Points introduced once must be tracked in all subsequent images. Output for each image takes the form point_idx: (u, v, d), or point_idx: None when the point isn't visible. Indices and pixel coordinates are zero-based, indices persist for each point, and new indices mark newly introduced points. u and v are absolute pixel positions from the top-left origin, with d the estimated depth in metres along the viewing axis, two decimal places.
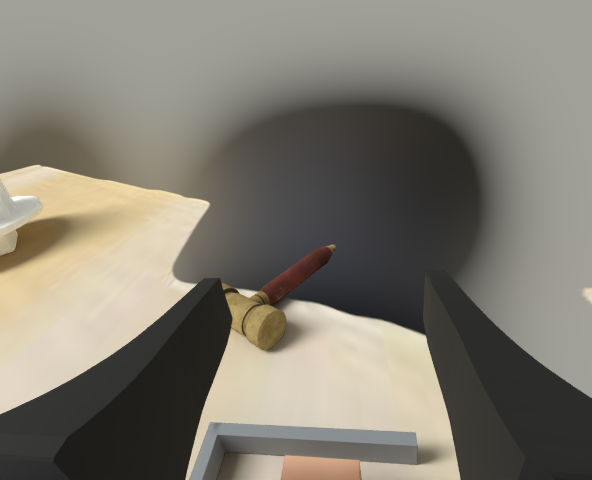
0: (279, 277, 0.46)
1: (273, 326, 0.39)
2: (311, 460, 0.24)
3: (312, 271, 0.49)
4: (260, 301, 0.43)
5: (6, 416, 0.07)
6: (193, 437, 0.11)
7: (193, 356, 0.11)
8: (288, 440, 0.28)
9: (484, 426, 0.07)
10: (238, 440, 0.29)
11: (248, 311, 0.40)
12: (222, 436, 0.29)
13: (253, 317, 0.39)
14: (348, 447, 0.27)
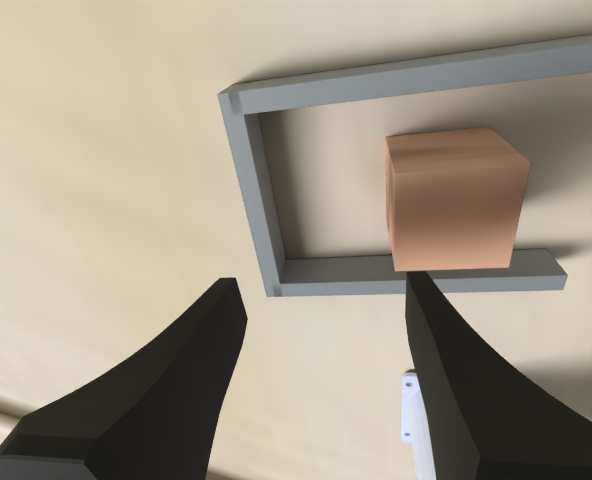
0: None
1: None
2: (443, 175, 0.14)
3: None
4: None
5: (32, 417, 0.07)
6: (212, 438, 0.11)
7: (212, 356, 0.11)
8: None
9: (451, 425, 0.07)
10: None
11: None
12: None
13: None
14: None
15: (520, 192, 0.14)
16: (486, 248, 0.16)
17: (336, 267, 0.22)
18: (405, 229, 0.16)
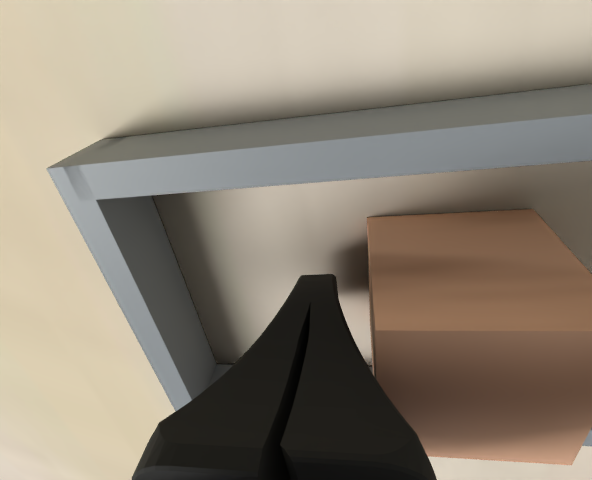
0: None
1: None
2: (466, 338, 0.08)
3: None
4: None
5: (169, 423, 0.07)
6: None
7: None
8: None
9: None
10: None
11: None
12: None
13: None
14: None
15: None
16: (535, 440, 0.09)
17: None
18: (395, 405, 0.09)
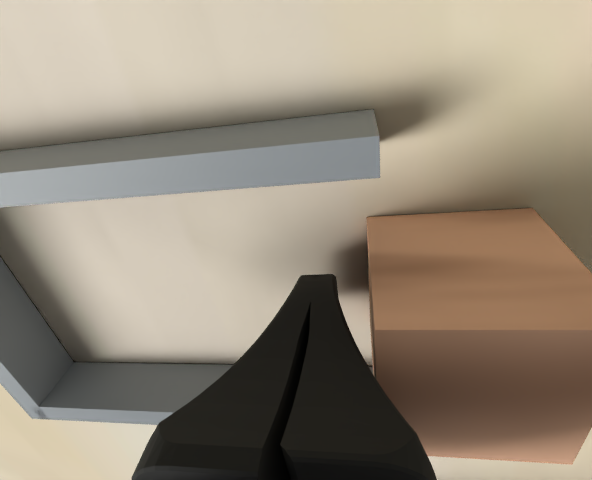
0: None
1: None
2: (465, 338, 0.08)
3: None
4: None
5: (169, 423, 0.07)
6: None
7: None
8: None
9: None
10: None
11: None
12: None
13: None
14: None
15: None
16: (536, 439, 0.09)
17: (120, 381, 0.17)
18: (395, 405, 0.09)
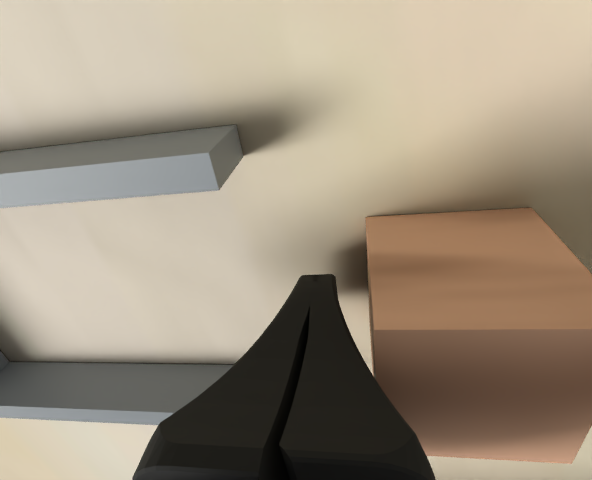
0: None
1: None
2: (465, 337, 0.08)
3: None
4: None
5: (170, 423, 0.07)
6: None
7: None
8: None
9: None
10: None
11: None
12: None
13: None
14: None
15: None
16: (535, 438, 0.09)
17: (48, 380, 0.18)
18: (395, 405, 0.09)
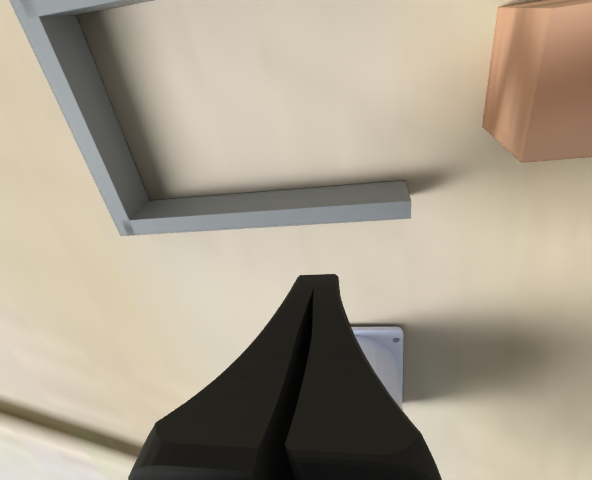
0: None
1: None
2: None
3: None
4: None
5: (166, 423, 0.07)
6: None
7: (307, 357, 0.10)
8: None
9: None
10: (82, 9, 0.16)
11: None
12: (50, 14, 0.15)
13: None
14: None
15: None
16: None
17: (192, 204, 0.21)
18: (548, 97, 0.12)
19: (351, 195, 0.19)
